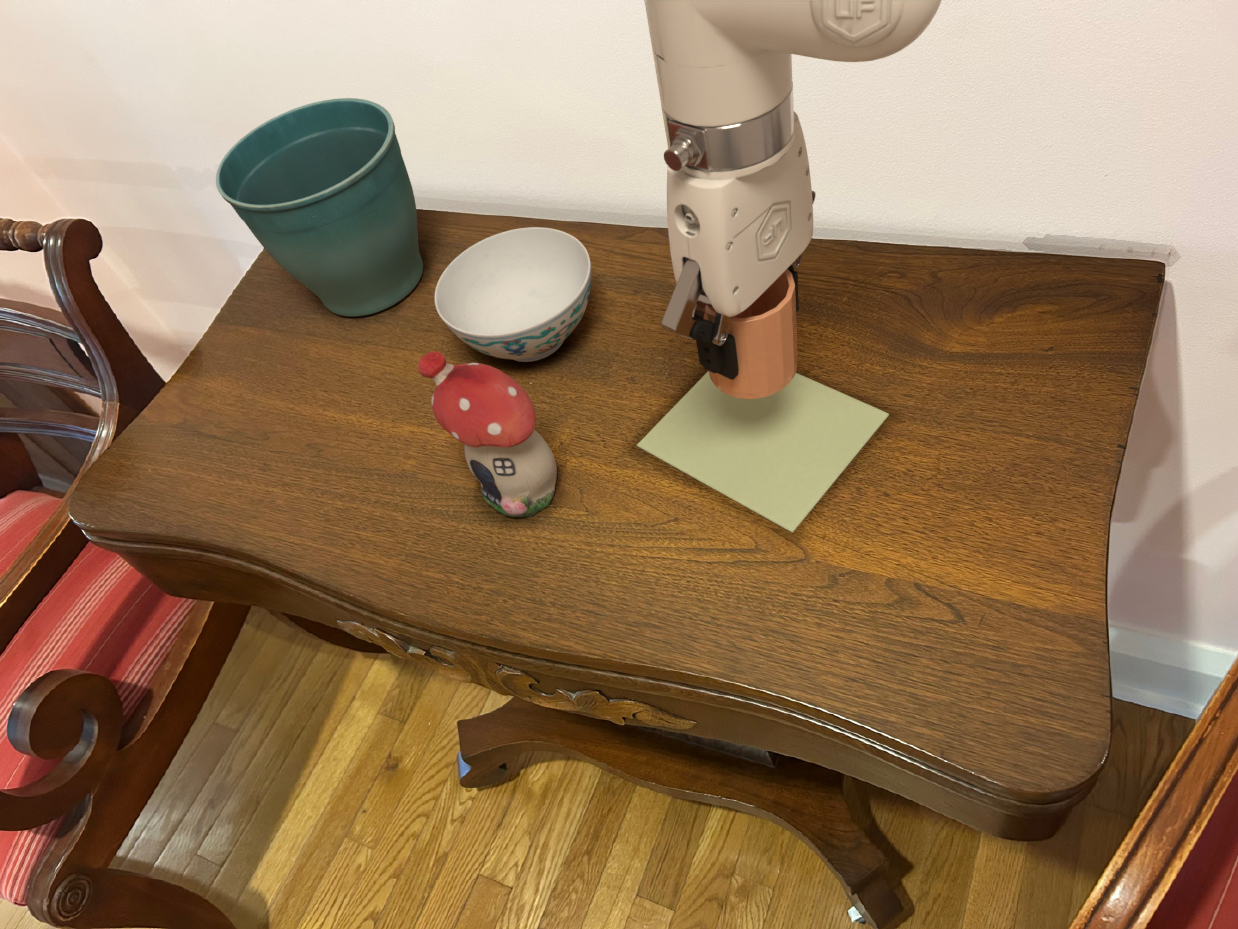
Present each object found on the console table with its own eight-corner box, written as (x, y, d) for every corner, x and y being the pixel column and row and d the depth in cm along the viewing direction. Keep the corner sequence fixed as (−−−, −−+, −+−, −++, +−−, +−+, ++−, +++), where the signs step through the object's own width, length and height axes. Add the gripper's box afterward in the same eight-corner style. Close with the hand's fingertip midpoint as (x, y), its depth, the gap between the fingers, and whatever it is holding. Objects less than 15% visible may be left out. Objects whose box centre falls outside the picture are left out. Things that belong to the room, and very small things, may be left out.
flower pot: (480, 240, 97) (426, 100, 84) (397, 351, 88) (321, 214, 75) (357, 224, 104) (288, 93, 91) (268, 325, 95) (178, 196, 82)
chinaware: (448, 321, 89) (420, 263, 83) (580, 268, 90) (562, 207, 84) (481, 416, 80) (453, 358, 74) (628, 356, 81) (612, 294, 75)
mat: (889, 415, 71) (889, 413, 71) (792, 533, 66) (792, 532, 65) (733, 346, 79) (733, 344, 79) (636, 446, 74) (636, 445, 74)
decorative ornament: (460, 481, 75) (392, 362, 64) (516, 435, 77) (460, 313, 66) (524, 538, 70) (463, 420, 59) (582, 488, 72) (534, 364, 61)
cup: (814, 355, 66) (813, 274, 59) (763, 412, 63) (756, 334, 57) (743, 324, 69) (734, 245, 63) (691, 377, 67) (677, 300, 61)
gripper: (687, 222, 45) (720, 435, 59) (865, 58, 51) (857, 286, 65) (585, 185, 49) (638, 393, 63) (762, 37, 55) (775, 256, 69)
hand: (749, 337), depth 64 cm, fingers closed on cup, 6 cm apart
